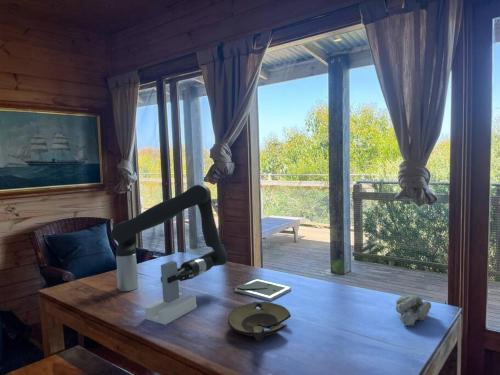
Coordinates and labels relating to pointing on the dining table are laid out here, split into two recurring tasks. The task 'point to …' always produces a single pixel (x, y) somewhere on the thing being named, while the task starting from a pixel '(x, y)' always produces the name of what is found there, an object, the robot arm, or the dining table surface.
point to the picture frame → (262, 289)
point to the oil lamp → (258, 319)
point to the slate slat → (169, 288)
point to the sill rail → (170, 309)
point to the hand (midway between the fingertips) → (164, 280)
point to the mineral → (412, 309)
